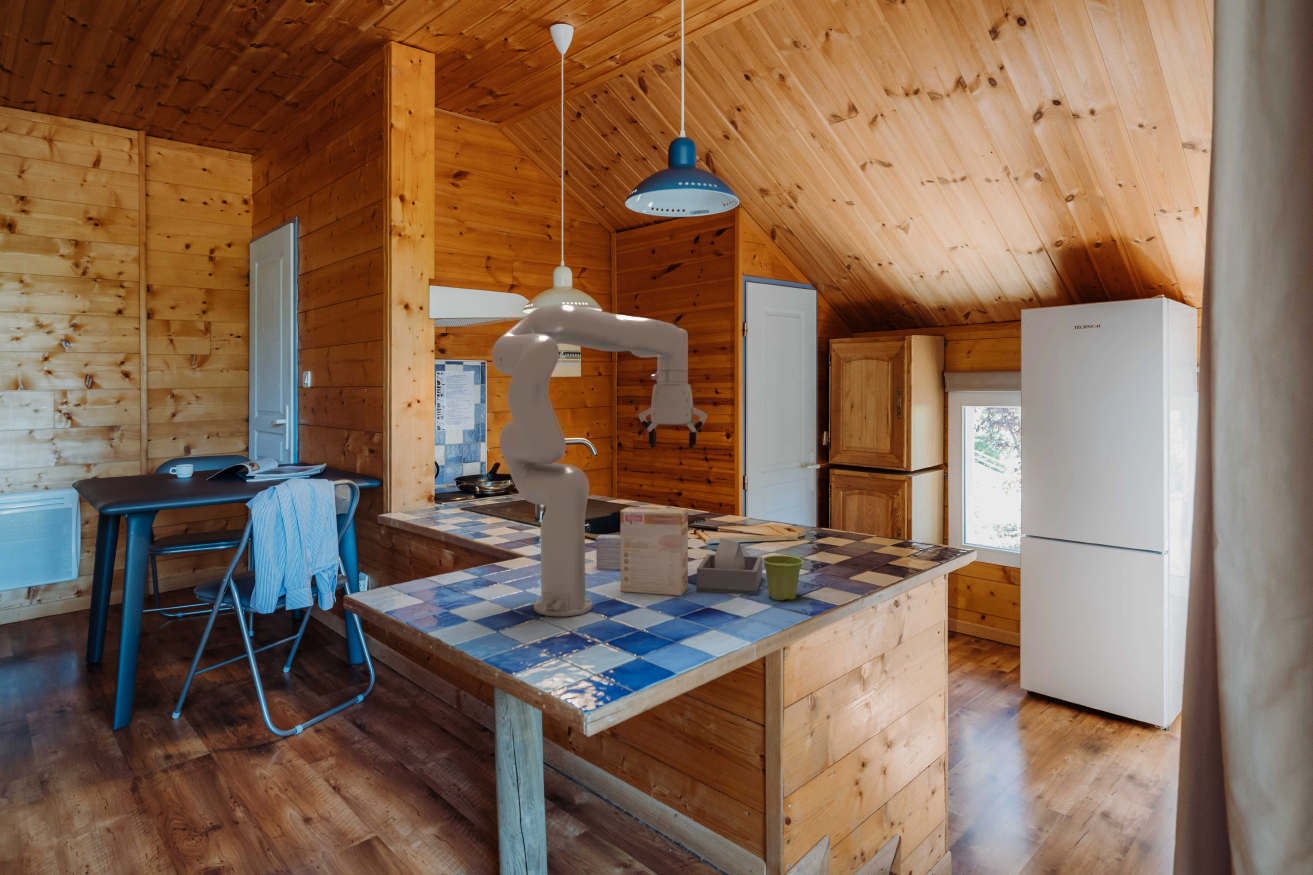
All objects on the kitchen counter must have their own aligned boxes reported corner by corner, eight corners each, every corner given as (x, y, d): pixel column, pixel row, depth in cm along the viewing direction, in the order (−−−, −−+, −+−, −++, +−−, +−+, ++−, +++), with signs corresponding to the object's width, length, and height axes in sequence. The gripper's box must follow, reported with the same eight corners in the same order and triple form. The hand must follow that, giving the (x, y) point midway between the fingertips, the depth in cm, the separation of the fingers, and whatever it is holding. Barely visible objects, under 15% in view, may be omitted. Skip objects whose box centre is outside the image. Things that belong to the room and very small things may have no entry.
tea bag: (733, 584, 178) (733, 543, 178) (714, 579, 184) (714, 538, 183) (744, 582, 180) (744, 541, 180) (726, 576, 186) (726, 537, 185)
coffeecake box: (688, 588, 179) (688, 508, 178) (681, 596, 172) (681, 512, 171) (629, 584, 183) (628, 505, 182) (619, 592, 176) (619, 510, 175)
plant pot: (808, 594, 173) (809, 558, 173) (794, 605, 165) (795, 566, 164) (771, 589, 178) (771, 553, 177) (755, 599, 170) (755, 561, 169)
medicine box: (628, 566, 201) (627, 534, 201) (625, 570, 197) (625, 538, 196) (599, 566, 202) (598, 534, 201) (596, 569, 198) (595, 537, 197)
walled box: (756, 594, 173) (756, 571, 173) (696, 591, 176) (696, 568, 176) (762, 578, 189) (762, 556, 188) (707, 575, 192) (707, 553, 191)
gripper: (634, 378, 183) (635, 448, 184) (704, 378, 179) (704, 449, 180) (642, 379, 190) (642, 446, 191) (709, 378, 186) (709, 447, 187)
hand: (672, 447), depth 185 cm, fingers open, 9 cm apart
